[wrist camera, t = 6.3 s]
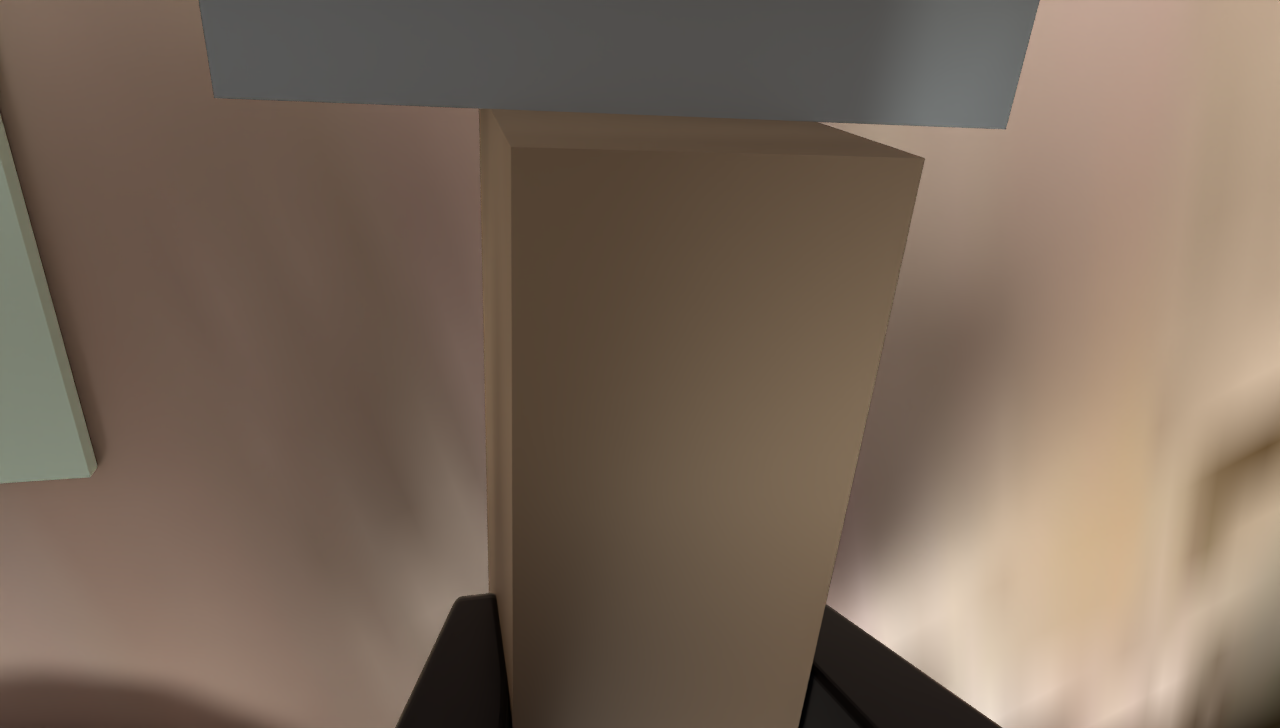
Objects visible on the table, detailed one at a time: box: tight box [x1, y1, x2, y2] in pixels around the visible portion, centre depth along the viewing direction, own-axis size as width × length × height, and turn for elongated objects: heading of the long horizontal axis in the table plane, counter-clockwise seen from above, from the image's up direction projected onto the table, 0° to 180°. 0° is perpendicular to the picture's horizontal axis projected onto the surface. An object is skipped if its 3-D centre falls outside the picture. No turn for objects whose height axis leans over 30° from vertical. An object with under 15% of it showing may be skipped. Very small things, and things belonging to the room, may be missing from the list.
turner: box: [199, 0, 1040, 728], centre depth 7 cm, size 15×6×3 cm, turn 175°
